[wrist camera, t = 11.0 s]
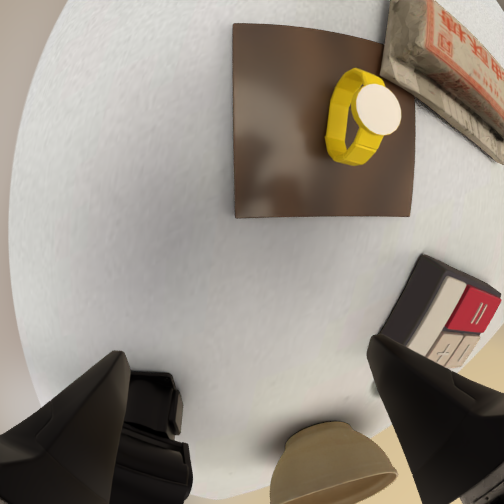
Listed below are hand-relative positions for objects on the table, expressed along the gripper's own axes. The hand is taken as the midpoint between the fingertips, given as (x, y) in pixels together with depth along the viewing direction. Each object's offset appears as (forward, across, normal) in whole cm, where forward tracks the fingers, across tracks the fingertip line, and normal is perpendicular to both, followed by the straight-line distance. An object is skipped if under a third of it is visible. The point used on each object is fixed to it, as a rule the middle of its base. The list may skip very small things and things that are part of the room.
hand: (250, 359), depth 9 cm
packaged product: (+12, -20, -15) cm, 28 cm away
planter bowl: (+12, -10, +29) cm, 33 cm away
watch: (+11, -7, -9) cm, 16 cm away
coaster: (+12, -7, -9) cm, 17 cm away
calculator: (+12, -22, +9) cm, 27 cm away
